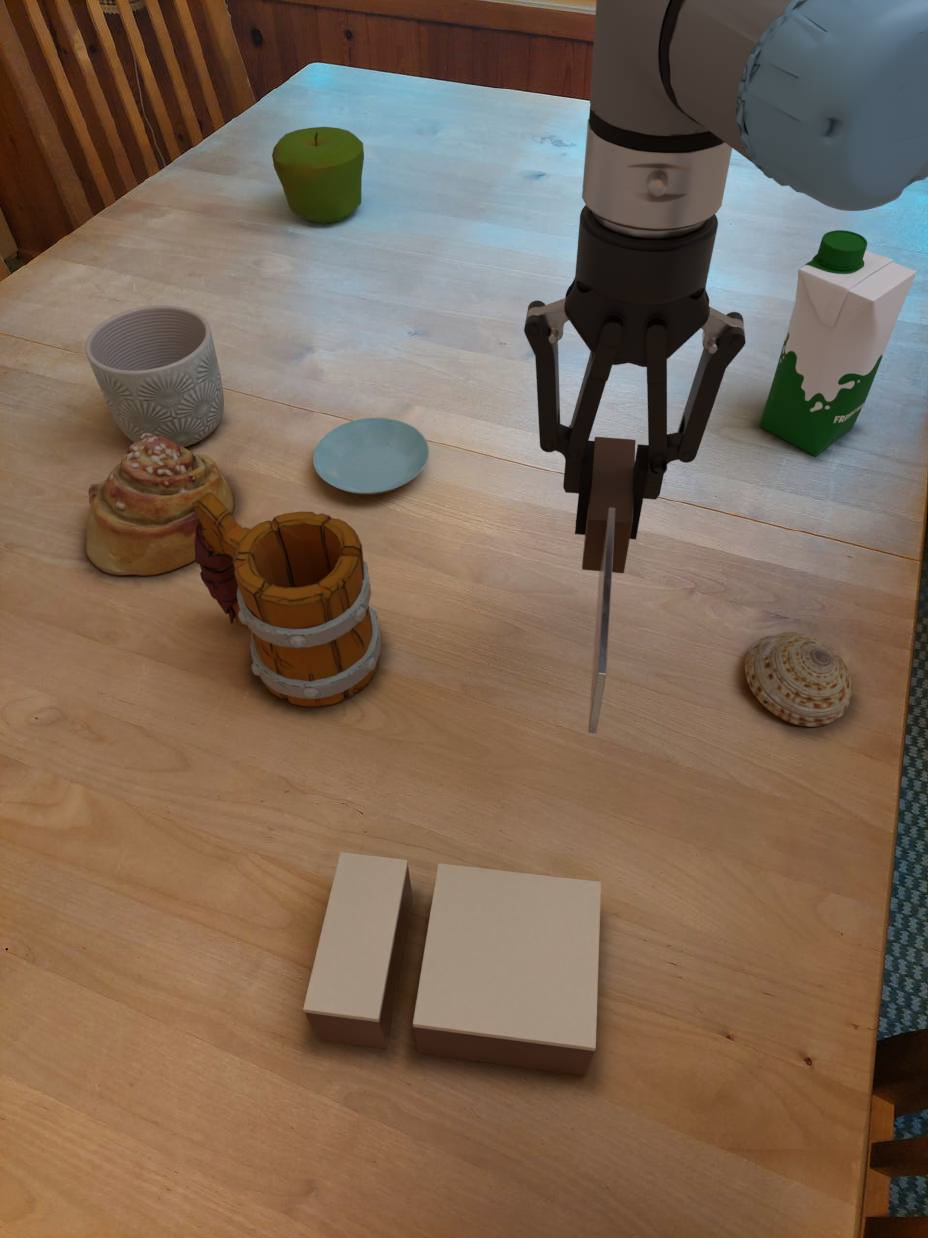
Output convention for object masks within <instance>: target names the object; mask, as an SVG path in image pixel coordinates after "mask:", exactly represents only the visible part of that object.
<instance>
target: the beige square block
mask: <svg viewBox="0 0 928 1238" xmlns="http://www.w3.org/2000/svg"><path fill="white" fill-rule="evenodd" d="M601 896H602V882H601V881H597V880H589V879H588V880H587V879H579V878H578V879H577V878H570V877H563V876H552V875H544V874H537V873H536V874H535V873H526V872H519V871H509V870H501V869H492V868H485V867H484V868H483V867H474V866H467V865H466V866H465V865H459V864H449V863H441V862H438V863H437V868H436V875H435V880H434V887H433V894H432V900H431V906H430V912H429V919H428V925H427V931H426V937H425V943H424V948H423V949H424V951H423V956H422V962H421V969H420V973H419V982H418V988H417V994H416V999H415V1006H414V1012H413V1019H412V1027H413V1031H414V1037H415V1041H416V1046H417V1052H418V1054H421V1055H429V1056H435V1057H443V1058H451V1059H455V1060H456V1059H457V1060H464V1061H472V1062H480V1063H486V1064H494V1065H501V1066H509V1067H515V1068H516V1067H517V1068H523V1069H531V1070H539V1071H546V1072H553V1073H561V1074H566V1075H567V1074H568V1075H576V1076H582V1077H587V1075H588V1072H589V1069H590V1066H591V1063H592V1060H593V1057H594V1054H595V1052H596V1049H597V1021H598V990H599V961H600V960H599V958H600V931H601V929H600V928H601V898H602V897H601Z"/></svg>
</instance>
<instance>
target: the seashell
mask: <svg viewBox="0 0 928 1238" xmlns="http://www.w3.org/2000/svg"><path fill="white" fill-rule="evenodd" d="M847 667H848V666H847V665H846V663H845V662H844V660H843V658H842V657H841V655H840V654H839V653H837V651H836V650H835V649H834V648H832V647H831V646H830V645H828V644H827V643H826V642H824V641H822V640H820V639H818V638H815V637H812V636H811V635H807V634H805V633H801V632H796V631H785V632H784V631H783V632H781V633H777V634H773V635H767V636H764V637H761V638H759V639H758V640H757V641H755V642H754V644H753V645H752V646H750V648H749V650H748V652H747V655H746V658H745V660H744V673H745V678H746V681H747V684H748V686H749V688H750V690H751V692H752V693H753V695H754V696H755V698H756V699H757V700H758V701H759V702H760V704H761V705H763V707H764V708H766V709H767V710H768V711H769V712H770V713H772V714H773V715H775V716H776V717H778V718H780V719H782V720H783V721H785V722H788V723H790V724H793V725H796V726H803V727H807V728H808V727H809V728H811V727H812V728H813V727H814V728H815V727H822V726H826V725H829V724H831V723H833V722H836V721H837V720H838V719H840V718H841V717H842V716H843V715H844V714H845V712H846V711H847V709H848V707H849V704H850V702H851V698H852V689H853V686H852V679H851V674H850V672H849V670H848V668H847Z"/></svg>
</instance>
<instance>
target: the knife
mask: <svg viewBox="0 0 928 1238" xmlns="http://www.w3.org/2000/svg"><path fill="white" fill-rule="evenodd" d="M593 441H595V448H594V461H593V471H592V480H591V488H590V495H589V504H588V513H587V521H586V530H585V535H584V538H583V539H584V540H583V551H582V561H581V570H582V571H590V572H591V571H594V572H598V573H599V574H598V586H597V600H596V615H595V627H594V628H595V629H594V644H593V659H592V671H591V675H592V676H591V688H590V701H589V716H588V728H587V729H588V730H587V731H588V733H589V734H595V735H596V734H597V732H598V726H599V722H600V721H599V720H600V713H601V708H602V702H603V696H604V691H605V684H606V678H607V669H608V653H609V652H608V651H609V633H610V615H611V601H612V600H611V597H612V583H613V582H612V581H613V573H614V574H624V573H625V568H626V563H627V557H628V552H629V546H630V540H631V539H630V534H631V528H632V522H633V496H634V492H633V485H634V465H635V458H636V439H630V438H620V437H619V438H618V437H606V436H594V440H593Z"/></svg>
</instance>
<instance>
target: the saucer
mask: <svg viewBox="0 0 928 1238" xmlns="http://www.w3.org/2000/svg"><path fill="white" fill-rule="evenodd" d="M429 455H430V447H429V444H428V441H427V439H426V437H425V436H424V435H423V433H422V432H420V431H419V430H418V429H417V428H416V427H414V426H412V425H411V424H409V423H407V422H405V421H401V420H397V419H392V418H387V417H365V418H359V419H355V420H351V421H348V422H346V423H342V424H340V425H338V426H336V427H335V428H333V429H332V430H330V431H329V432H327V433H326V434H324V436H323V437H322V438H321V439H320V440H319V441H318V443H317V444H316V446H315V448H314V450H313V456H312V462H313V463H312V464H313V468H314V470H315V471H316V473H317V475H318V477H320V479H322V480H323V481H324V482H326V483H327V484H329V485H330V486H332V487H334V488H336V489H339V490H341V491H344V492H347V493H351V494H357V495H377V494H384V493H387V492H390V491H394V490H396V489H398V488H401V487H403V486H404V485H406V484H408V483H409V482H411V481H412V480H414V479H415V478H416V477H417V476H418V475H419V474H420V473H421V472H422V471H423V470H424V468H425V467H426V466H427V464H428V461H429Z"/></svg>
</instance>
